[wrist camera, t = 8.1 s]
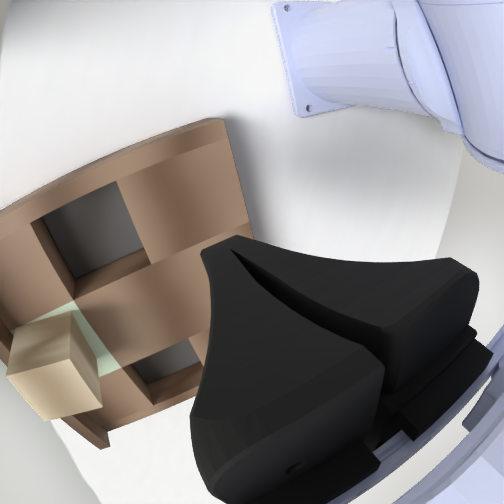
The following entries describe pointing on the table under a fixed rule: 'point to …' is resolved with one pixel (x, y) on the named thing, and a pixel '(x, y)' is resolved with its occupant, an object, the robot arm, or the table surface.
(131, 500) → the table surface
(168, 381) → the box
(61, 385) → the maple block
